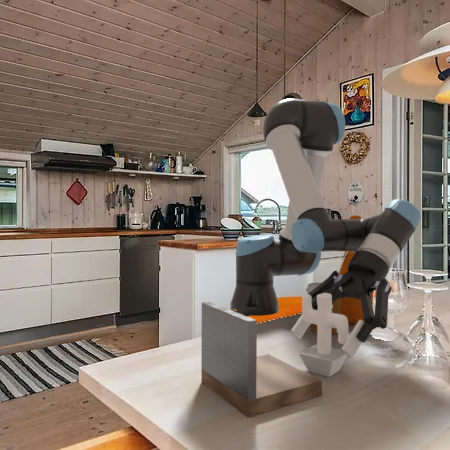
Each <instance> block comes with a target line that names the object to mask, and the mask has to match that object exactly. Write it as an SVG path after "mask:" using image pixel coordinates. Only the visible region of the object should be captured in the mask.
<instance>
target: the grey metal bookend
mask: <svg viewBox="0 0 450 450" xmlns="http://www.w3.org/2000/svg"><path fill="white" fill-rule="evenodd" d="M257 330H258V320H257V319H254V318H252V317H250V316H248V315H242V314H239V313H237V312H234V311H232V310H230V309H229V308H226V307H223V306H221V305H219V304H216V303H213V302H210V301H205V302H204V301H203V302H201V370H202V369H203V370H204V371H206V372H207V373H209V374H210V375H212V376H213V377H214V378H216V379H217V380H219V381H220V382H222V383H223V384H225V385H226V386H227V387H229V388H230V389H232V390H233V391H235V392H236V393H237V394H239V395H240V396H242V397H243V398H245V399H246V400H248V401H250V400H253V399H256V368H257V357H258V356H257V349H258V348H257V347H258V346H257V341H258V340H257V335H258V331H257Z"/></svg>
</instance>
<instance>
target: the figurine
mask: <svg viewBox="0 0 450 450" xmlns="http://www.w3.org/2000/svg"><path fill="white" fill-rule="evenodd" d="M317 304H318V310H313V308H312V297H311V295H309V294H308V293H305V294H304V295H302V297H301V313H302V317H303V320H304V321H305V322H307V323H312V324H316V325H317V333H316V334H317V335H316V344H314V345H311V346H309V347H307V348H305V349H303V350H301V351H299V352H298V355H299V357H300V359H301V360H302V363H303V364H304V366H305V368H306V369H307V371H308V372H310V373H313V374H317V375H320V376H324V377H327V378H330V377H331V376H333V375H335V374H337V373H338V372H340V370H341V368H342V367H343V366H344V363H345V361H346V360H347V357H348V356H347V355H346V354H345V352H344V351H343V350H342V349H341V348H336V347H332V334H331V328H336V329H337V342H338V343H339V344H340V345H344V344H345V342H346V340H347V339H348V337H349V323H348V319H347V317H346V316H345V315H342V314H336V313H332V308H333V305H332V295H331V294H329V293H322V294H318V295H317Z"/></svg>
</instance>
